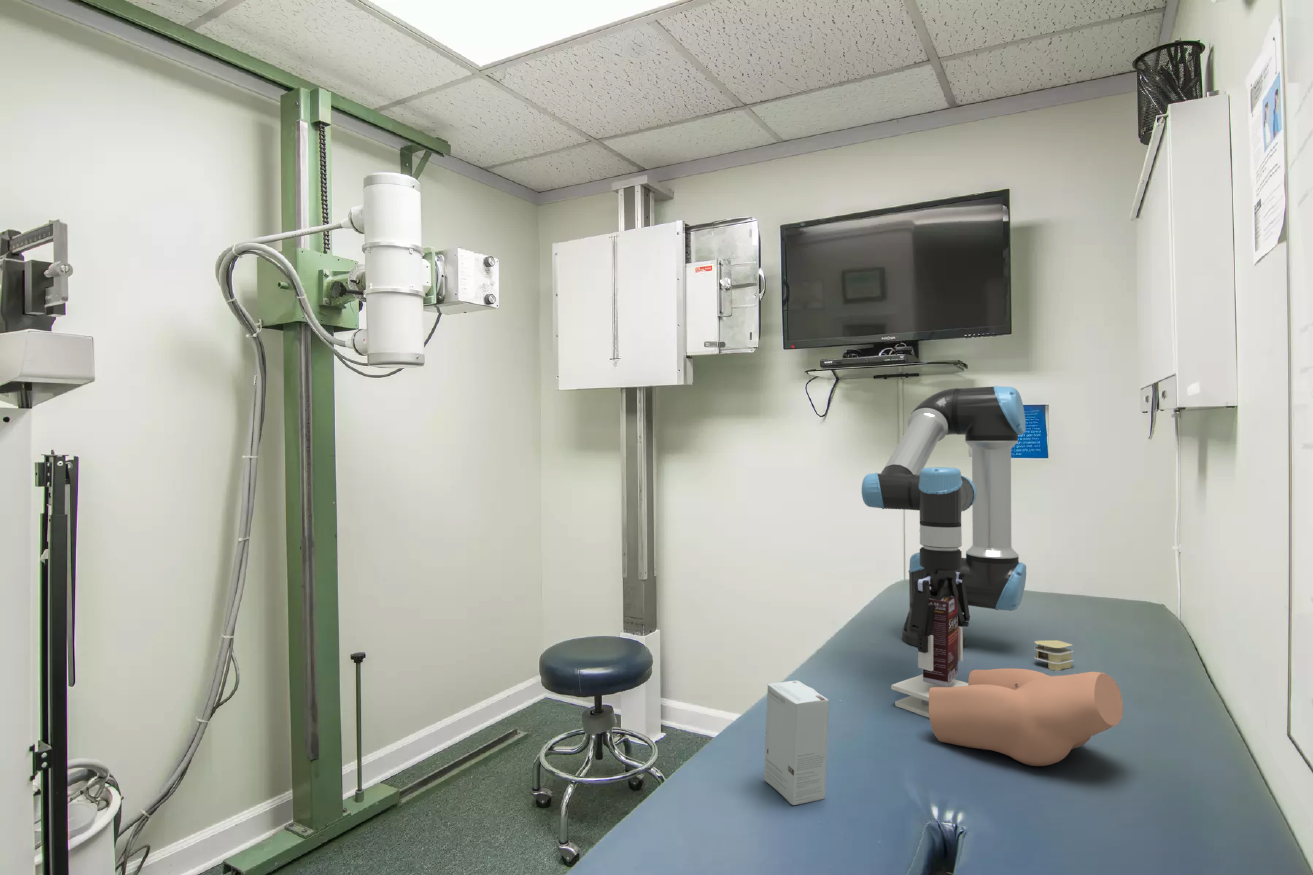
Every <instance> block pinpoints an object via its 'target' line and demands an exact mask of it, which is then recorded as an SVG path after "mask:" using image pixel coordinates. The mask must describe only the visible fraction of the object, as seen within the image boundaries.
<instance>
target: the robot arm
mask: <svg viewBox="0 0 1313 875" xmlns="http://www.w3.org/2000/svg"><path fill="white" fill-rule="evenodd" d="M1025 433H1026V415H1025V408H1024V403H1023V400H1022V397H1021V394H1020V392H1019V390H1018V389H1017V388H1015V387H1013V386H1001V385H1000V386H998V385H995V386H978V387H963V388H962V387H961V388H957V387H956V388H948V389H944V390H943V389H942V390H941V391H938V392H936V393H934V394H932V395H930V396H928V397H927V398H925V400H923V401H921V402H920V403H919V404H918V405H917V406H916V407H915V408H914V409H913V411H912V412H911V413H910V414H909V417H908V419H907V429H906V430H905V432H904V434H903V436H902V437H901V438H900V441H899V442H898V444H897V446H896V447H895V449H894V451H893V452H892V454H891V456H890V457H889V459H888V460H887V462H886V464H885V466H884V468H883V469H882V471H881V472H880V473H878V472H875V473H869V474H866V475H865V476H864V477H863V480H862V483H861V497H862V501H863V503H864V504H865V506H866V507H869V508H875V509H881V510H887V509H888V510H907V511H908V510H909V511H910V510H911V511H919V545H921V546H922V547H920V548H919V552H916V553H914V554H912V555H911V556H910V558H909V566H908V568H909V569H908V578H909V579H908V580H909V581H908V583H909V584H908V586H909V588H908V590H909V591H908V592H909V594H908V595H909V596H908V598H909V599H908V600H909V610H908V612H907V616H906V619H905V621H904V625H903V627H902V630H901V632H902V636H901V637H902V640H903V641H904V642H905V643H906V644H908V645H911V646H914V647H917V667H918V669H922V670H923V669H925V670H929V671H933V635H930V633H931V629H932V626H933V622H934V618H935V604H934V605H932V606H929V607H928V605H929V598H930V599H935V600H941V599H943V597H944V596H950V595H951V596H954V597H957V596H958V662H962V661H964V655H963V654H964V653H963V652H964V651H963V650H964V648H965V647H966V646H967V635H966V633H965V630H964V627H965V628H968V627H969V624H970V623H969V621H970V620H971V615H970V609H969V608H970V606H971V607H975V608H976V607H977V608H983V609H985V608H986V609H991V610H995V611H999V610H1000V611H1010V612H1011V611H1015V610H1017V609H1018V608H1019V607H1020V605H1021V602H1022V600H1023V596H1024V592H1025V588H1026V580H1027V565H1026V564H1025V563H1023V562H1022V561H1019V559H1020V558H1019V553H1017V552H1016V550H1014V549H1013V547H1012V449H1013V447H1014V446H1015V445H1017V443H1019V436H1020V435H1024V434H1025ZM948 435H949V436H950V435H958V436H959V435H964V436H965V439H964V440H965V441H964V442H965V443H966V444H967V446H969V447H970V448H971V471H972V472H971V473H972V474H971V475H972V476H971V479H970V478H968V477H967V476H965V475H962V472H961V470H960V469H959V468H957V467H947V466H946V467H944V466H943V467H937V466H936V467H935V466H934V467H931V466H930V467H925V466H926V464H927V462H928V461H929V459H930V457H931V455H932V453H933V451H934V449H935V447H936V445H937V444H938V442H940V441H941V440H943V439H944V438H945V437H946V436H948ZM971 507H972V509H971V510H972V520H971V521H972V545H971V546H970V547H969V548H968V549H967V550H966V551H965V557H963V553H962V550H961V549H959V548H961V547H962V546H963V545H962V544H963V542H962V541H963V539H962V536H963V535H962V512H965V511H966V510H967V511H968V509H970V508H971ZM925 627H926V629H925Z"/></svg>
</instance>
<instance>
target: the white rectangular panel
mask: <svg viewBox="0 0 1313 875" xmlns="http://www.w3.org/2000/svg"><path fill="white" fill-rule="evenodd" d="M958 686H968V682H966V681H962V680H959V679H955V678H954V679H953V680H952V681H951V682H950V684H949V685H948V686H942V685H937V684H932V683H928V682H924V681H923V673H922V674H918V675H917V676H913V677H910V678H907V679H905V680H902V681H898V682H896V683H893V684H891V685H890V688H891V690H893V691H896V692H899V693H901V694H905V695H908V696H907V697H903V698H901V699H898V700H896V701H894V706H895V707H898V708H901V709H904V710H906V711H909V712H912V713H914V714H917V715H920V716H923V717H926V718H928V719H930V717H929V690H930V688H932V687H958Z"/></svg>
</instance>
